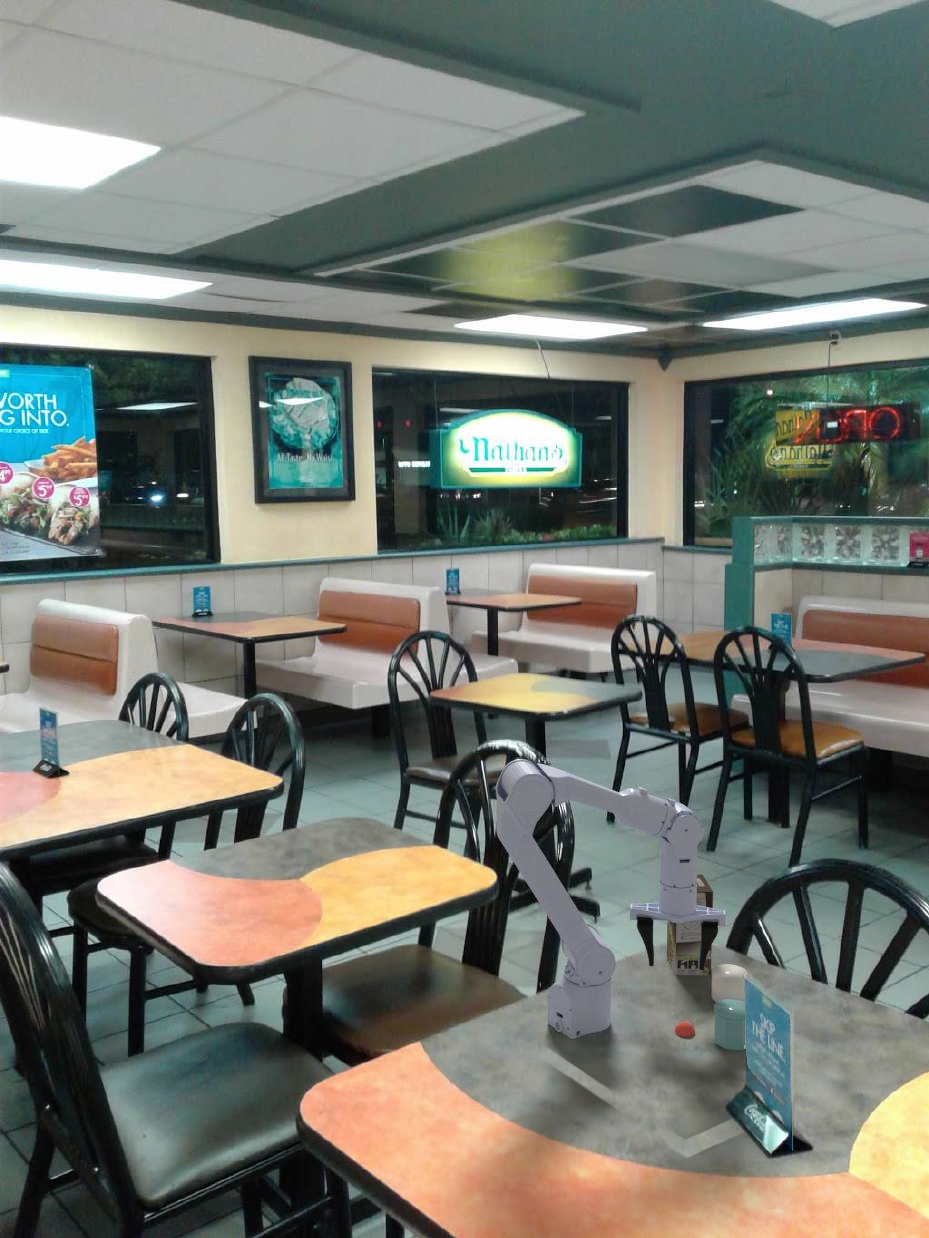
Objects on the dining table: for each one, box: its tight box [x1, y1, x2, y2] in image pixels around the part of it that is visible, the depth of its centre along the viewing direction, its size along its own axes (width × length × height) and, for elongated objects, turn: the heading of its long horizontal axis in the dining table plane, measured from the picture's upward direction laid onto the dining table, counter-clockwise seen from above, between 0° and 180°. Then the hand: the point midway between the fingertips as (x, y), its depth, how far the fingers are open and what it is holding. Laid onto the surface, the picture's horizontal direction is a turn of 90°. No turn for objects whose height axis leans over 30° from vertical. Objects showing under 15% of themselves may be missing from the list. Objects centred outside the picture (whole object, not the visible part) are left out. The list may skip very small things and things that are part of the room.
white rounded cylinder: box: [711, 963, 749, 1003], centre depth 178 cm, size 6×6×6 cm
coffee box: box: [666, 873, 714, 976], centre depth 190 cm, size 9×6×16 cm
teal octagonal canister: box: [713, 999, 745, 1051], centre depth 164 cm, size 6×6×6 cm
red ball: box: [674, 1020, 696, 1038], centre depth 167 cm, size 3×3×3 cm
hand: (676, 965), depth 172 cm, fingers open, 7 cm apart
